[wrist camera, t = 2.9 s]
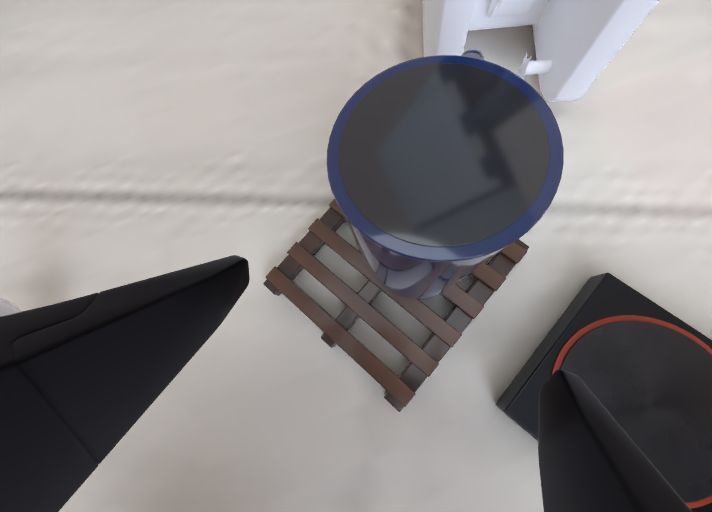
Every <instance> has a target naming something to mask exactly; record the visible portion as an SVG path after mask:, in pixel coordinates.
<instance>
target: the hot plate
mask: <svg viewBox="0 0 712 512" xmlns="http://www.w3.org/2000/svg"><path fill="white" fill-rule="evenodd" d="M558 369H562V370H565V371H568V372H570V373H573V374H576V375H577V376H579V377H580V379H581V380H582V381H583V382H584V383H585V384H586V386H587V387H588V388H589V389H590V390H591V392H592V393H593V394H594V395H595V396H596V397H597V399H598V400H599V401H600V402H601V403H602V405H603V406H604V407H605V408H606V409H607V411H608V412H609V413H610V414H611V415H612V417H613V418H614V419H615V420H616V421H617V422H618V424H619V425H620V426H621V427H622V428H623V430H624V431H625V432H626V433H627V434H628V436H629V437H630V438H631V439H632V440H633V441H634V443H635V444H636V445H637V446H638V447H639V449H640V450H641V451H642V452H643V453H644V455H645V456H646V457H647V458H648V459H649V460H650V462H651V463H652V464H653V465H654V466H655V468H656V469H657V470H658V471H659V472H660V474H661V475H662V476H663V477H664V478H665V479H666V481H667V482H668V483H669V484H670V485H671V487H672V488H673V489H674V490H675V491H676V493H677V494H678V495H679V496H680V497H681V498H682V500H683V501H684V502H685V503H686V504H687V506H688V507H689V508H690V509H691V510H692V512H712V340H711V339H709V338H708V337H706V336H705V335H703V334H702V333H700V332H698V331H697V330H695V329H694V328H692V327H691V326H689V325H688V324H686V323H685V322H683V321H682V320H680V319H679V318H677V317H675V316H674V315H672V314H671V313H669V312H668V311H666V310H665V309H663V308H662V307H660V306H659V305H657V304H656V303H654V302H652V301H651V300H649V299H648V298H646V297H645V296H643V295H642V294H640V293H639V292H637V291H636V290H634V289H633V288H631V287H629V286H628V285H626V284H625V283H623V282H622V281H620V280H619V279H617V278H616V277H614V276H613V275H611V274H610V273H605V274H601V275H597V276H593V277H591V278H590V279H589V281H588V282H587V283H586V284H585V286H584V287H583V288H582V290H581V291H580V292H579V294H578V295H577V296H576V298H575V299H574V300H573V302H572V303H571V304H570V306H569V307H568V308H567V310H566V311H565V312H564V314H563V315H562V316H561V318H560V319H559V320H558V322H557V323H556V324H555V326H554V327H553V328H552V330H551V331H550V332H549V334H548V335H547V336H546V338H545V339H544V340H543V342H542V343H541V344H540V346H539V347H538V348H537V350H536V351H535V352H534V354H533V355H532V356H531V358H530V359H529V360H528V362H527V363H526V364H525V366H524V367H523V368H522V370H521V371H520V372H519V374H518V375H517V376H516V378H515V379H514V380H513V382H512V383H511V384H510V386H509V387H508V388H507V390H506V391H505V392H504V394H503V395H502V396H501V397H500V399H499V400H498V401H497V403H496V406H497V407H498V408H499V409H501V410H502V411H503V412H504V413H505V414H507V415H508V416H509V417H510V418H511V419H512V420H514V421H515V422H516V423H517V424H518V425H520V426H521V427H522V428H523V429H524V430H525V431H527V432H528V433H529V434H530V435H531V436H532V437H534V438H535V439H536V440H537V441H538V433H539V392H540V389H541V387H542V386H543V384H544V383H545V382H546V381H547V380H548V379H549V378H550V376H551V375H552V374H553V373H554V372H555V371H556V370H558Z"/></svg>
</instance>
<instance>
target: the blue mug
mask: <svg viewBox="0 0 712 512" xmlns="http://www.w3.org/2000/svg"><path fill="white" fill-rule="evenodd" d="M562 169H563V144H562V137H561V133H560V130H559V127H558V124H557V121H556V119H555V117H554V115H553V113H552V111H551V109H550V108H549V106H548V105H547V104H546V102H545V101H544V99H543V98H542V97H541V96H540V95H539V93H538V92H537V91H536V90H535V89H534V88H533V87H532V86H531V85H529V84H528V83H527V82H526V81H525V80H523V79H522V78H521V77H519V76H517V75H516V74H514V73H513V72H511V71H509V70H507V69H505V68H503V67H501V66H499V65H497V64H494V63H491V62H488V61H485V60H484V58H483V55H482V53H481V52H480V51H479V50H477V49H469V50H466V51H465V52H464V53H463V54H462V55H461V56H458V55H437V56H427V57H422V58H417V59H413V60H409V61H406V62H403V63H400V64H398V65H395V66H393V67H391V68H389V69H387V70H385V71H383V72H381V73H380V74H378V75H376V76H375V77H373V78H372V79H371V80H369V81H368V82H366V83H365V84H364V85H363V86H362V87H361V88H360V89H359V90H357V91H356V92H355V93H354V95H353V96H352V97H351V98H350V99H349V100H348V102H347V103H346V104H345V106H344V107H343V109H342V110H341V112H340V113H339V115H338V117H337V120H336V122H335V124H334V126H333V129H332V132H331V135H330V138H329V144H328V149H327V172H328V178H329V182H330V186H331V190H332V192H333V195H334V197H335V200H336V202H337V204H338V206H339V208H340V210H341V212H342V214H343V216H344V219H345V221H346V223H347V225H348V227H349V229H350V231H351V233H352V235H353V237H354V239H355V242H356V244H357V246H358V248H359V250H360V252H361V254H362V256H363V258H364V260H365V262H366V264H367V267H368V269H369V270H370V272H371V274H372V275H373V277H374V278H375V279H376V281H378V282H379V283H380V284H381V285H382V286H383V287H384V288H386V289H387V290H389V291H390V292H392V293H394V294H397V295H399V296H403V297H406V298H415V299H421V298H429V297H433V296H436V295H438V294H441V293H443V292H445V291H446V290H448V289H450V288H451V287H452V286H454V285H455V284H456V283H458V282H459V281H461V280H462V279H463V278H465V277H466V276H468V275H469V274H470V273H472V272H473V271H475V270H476V269H477V268H479V267H480V266H481V265H483V264H484V263H486V262H487V261H488V260H490V259H491V258H493V257H494V256H495V255H497V254H498V253H499V252H501V251H502V250H504V249H505V248H506V247H508V246H509V245H511V244H512V243H513V242H515V241H516V240H517V239H519V238H520V237H521V236H523V235H524V234H525V233H526V232H528V231H529V230H530V229H531V228H532V227H533V226H534V225H535V224H536V223H537V222H538V221H539V220H540V219H541V217H542V216H543V214H544V213H545V212H546V210H547V209H548V208H549V206H550V204H551V202H552V200H553V198H554V196H555V194H556V192H557V189H558V186H559V183H560V180H561V175H562Z"/></svg>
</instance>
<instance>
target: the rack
mask: <svg viewBox="0 0 712 512" xmlns="http://www.w3.org/2000/svg"><path fill="white" fill-rule="evenodd" d="M329 206H330V208H329V209H328V211H327V212H326V213H325V214H324V215H323V216H322V217H321V219H320V220H319V219H318V218H317V219H316V220H315V222H314V223H313V224H312V225H311V226H310V227H309V228H308V229H309V230H310V231H309V232H308V233H307V234H306V236H305V237H304V238H303V239H302V240H301V241H300V242H299V243H297V242H296V243H295V244H294V245H293V246H292V248H291V249H290V250H289V251H288V252H287V253H288V254H289V255H288V256H287V257H286V258H285V259H284V261H283V262H282V263H281V264H280V265H279V266H278V267H276V266H275V267H274V268H273V269H272V270H271V271H270V273H269V274H268V275H267V276H266V278H267V280H266V281H265V282H264V283H263V284H264V285H265V286H266V287H267V288H268V289H269V290H270V291H271V292H272V293H273V294H275V295H280V294H281V293H283V294H284V295H285V296H286V297H287V298H288V299H289V300H290V301H291V302H292V303H294V304H295V305H296V306H297V307H298V308H299V309H300V310H301V311H302V312H303V313H304V314H305V315H306V316H308V317H309V318H310V319H311V320H312V321H313V322H314V323H315V324H316V325H317V326H318V327H319V328H320V329H321V330H323V331H324V332H325V333H324V334H323V335H322V336H321V339H322V340H323V341H325V342H326V343H327V344H328V345H329V346H330V347H331V348H332V347H335V345H336V344H338V345H339V346H340V347H341V348H342V349H343V350H344V351H345V352H346V353H347V354H348V355H349V356H351V357H352V358H353V359H354V360H355V361H356V362H357V363H358V364H359V365H360V366H361V367H362V368H363V369H365V370H366V371H367V372H368V373H369V374H370V375H371V376H372V377H373V378H374V379H375V380H376V381H377V382H378V383H380V384H381V385H382V386H383V387H384V388H385V389H386V390H387V392H386V393H385V396H384V398H385V399H386V400H387V401H388V402H389V403H390V404H391V405H392V406H394V407H395V408H396V409H397V410H398V411H399V412H400V411H401V409H402V408H403V407H405V406H406V405H407V404H408V403H409V401H410V400H411V399H412V398H413V396H414V395H415V392H416V390H417V389H418V388H419V387H420V385H421V384H422V383H423V381H424V380H425V379H426V378H427V376H428V377H429V376H430V375H431V373H432V372H433V371H434V370H435V368H436V367H437V366H438V364H439V363H438V362H439V361H440V360H441V359H442V357H443V356H444V355H445V354H446V352H447V351H448V350H449V348H450V347H453V345H454V344H455V343H456V342H457V340H458V339H459V338H460V336H461V335H462V334H461V333H462V332H463V331H464V329H465V328H466V327H467V326H468V324H469V323H470V322H471V320H472V319H474V318H475V317H476V316H477V315H478V314H479V312H480V311H481V310H482V308H483V307H484V306H483V305H484V304H485V303H486V301H487V300H488V299H489V298H490V296H491V295H492V294H493V293H494V291H496V290H497V289H498V288H499V287H500V286H501V284H502V283H503V282H504V280H505V279H506V278H505V277H506V276H507V275H508V273H509V272H510V271H511V270H512V268H513V267H514V266H515V265H516V264H517V263H519V261H520V260H521V259H522V258H523V256H524V255H525V254H526V252H527V249H528V248H529V246H527V245H526V244H524V243H523V242H522V241H520V240H519V239H517V240H516V241H515V242H513V243H512V244H511V245H509V246H508V247H506V248H505V249H504V250H502V251H501V252H499V253H498V254H497V255H495V257H494V258H493V259H492V260H491V262H490V263H489V264H488V265H487V264H485V263H484V264H483V265H481V266H480V267H479V268H477V269H476V270H475V271H473V272H472V273H470V274H472V275H473V276H474V277H476V278H477V279H476V280H475V282H474V283H473V284H472V285H471V287H470V288H469V289H468V290H467V292H465V291H464V290H462V289H461V288H460V287H458V286H457V285H456V284H455V285H454V286H452V287H451V288H450V289H448V290H446V291H445V292H443V293H441V295H443V296H444V297H445V298H447V299H448V300H449V301H450V302H452V303H453V304H454V305H456V306H455V307H454V308H453V309H452V311H451V312H450V313H449V314H448V316H447V317H446V318H445V319H444V320H443V319H442V318H441V317H440V316H438V315H437V314H436V313H435V312H433V311H432V310H431V309H430V308H428V307H427V306H426V305H425V304H423V303H422V302H421V301H420V300H418V299H415V298H406V297H403V296H399V295H397V294H394V293H392V292H390V291H389V290H387V289H386V288H384V287H383V286H382V285H381V284H380V283H379V282H378V281H376V279H375V278H374V277H373V275H372V274H371V272H370V270H369V269H368V267H367V264H366V262H365V260H364V258H363V256H362V254H361V253H360V252H359V251H358V250H356V249H355V248H354V247H353V246H352V245H350V244H349V243H348V242H347V241H345V240H344V239H343V238H342V237H340V236H339V235H338V234H337V233H335V231H336V229H337V228H338V227H339V226H340V225H341V224H342V223H343V221H344V220H345V219H344V216H343V214H342V212H341V210H340V208H339V206H338V204H337V202H336V200H335V199H334V200H333V201H332V202H331V203H330V205H329ZM324 243H325V244H327V245H328V246H329V247H330V248H331V249H333V250H334V251H335V252H336V253H337V254H339V255H340V256H341V257H342V258H343V259H345V260H346V261H347V262H348V263H349V264H351V265H352V266H353V267H354V268H356V269H357V270H358V271H359V272H360V273H362V274H363V275H364V276H365V277H366V278H368V279H369V281H368V282H367V283H366V284H365V285H364V286H363V288H362V289H361V290H360V291H359V292H358V294H357V293H356V292H355V291H354V290H352V289H351V288H350V287H349V286H348V285H346V284H345V283H344V282H343V281H342V280H341V279H339V278H338V277H337V276H336V275H335V274H334V273H332V272H331V271H330V270H329V269H328V268H327V267H325V266H324V265H323V264H322V263H321V262H320V261H318V260H317V259H316V258H315V257H314V255H315V253H316V252H317V251H318V250H319V249H320V248H321V247H322V245H323V244H324ZM303 267H304V268H305V269H306V270H307V271H308V272H309V273H310V274H312V275H313V276H314V277H315V278H316V279H317V280H318V281H320V282H321V283H322V284H323V285H324V286H325V287H326V288H328V289H329V290H330V291H331V292H332V293H333V294H334V295H336V296H337V297H338V298H339V299H340V300H341V301H342V302H344V303H345V304H346V305H347V307H346V308H345V309H344V310H343V311H342V313H341V314H340V315H339V316H338V317H337V319H336V320H335V319H334V318H333V317H332V316H331V315H329V314H328V313H327V312H326V311H325V310H324V309H323V308H322V307H321V306H320V305H318V304H317V303H316V302H315V301H314V300H313V299H312V298H311V297H310V296H308V295H307V294H306V293H305V292H304V291H303V290H302V289H301V288H300V287H299V286H297V285H296V284H295V283H294V282H293V281H292V280H293V279H294V278H295V276H296V275H297V274H298V273H299V272H300V271H301V270H302V268H303ZM381 290H382V291H383V292H385V293H386V294H387V295H388V296H389V297H391V298H392V299H393V300H394V301H395V302H397V303H398V304H399V305H400V306H401V307H403V308H404V309H405V310H406V311H407V312H409V313H410V314H411V315H412V316H413V317H415V318H416V319H417V320H418V321H420V322H421V323H422V324H423V325H424V326H426V327H427V328H428V329H429V330H430V331H432V332H433V334H432V336H431V337H430V338H429V339H428V341H427V342H426V343H425V344H424V346H423V347H422V348H420V347H419V346H418V345H417V344H416V343H414V342H413V341H412V340H411V339H410V338H409V337H407V336H406V335H405V334H404V333H403V332H401V331H400V330H399V329H398V328H397V327H396V326H394V325H393V324H392V323H391V322H390V321H389V320H387V319H386V318H385V317H384V316H383V315H382V314H380V313H379V312H378V311H377V310H376V309H375V308H373V307H372V306H371V305H370V303H371V302H372V301H373V300H374V299H375V297H376V296H377V295H378V294H379V293H380V291H381ZM359 317H361V318H362V319H363V320H364V321H365V322H366V323H367V324H369V325H370V326H371V327H372V328H373V329H374V330H375V331H377V332H378V333H379V334H380V335H381V336H382V337H383V338H385V339H386V340H387V341H388V342H389V343H390V344H391V345H393V346H394V347H395V348H396V349H397V350H398V351H399V352H401V353H402V354H403V355H404V356H405V357H406V358H407V359H409V360H410V361H411V362H410V363H409V364H408V366H407V367H406V368H405V369H404V371H403V372H402V373H401V374H400V376H399V377H398V376H397V375H396V374H395V373H394V372H392V371H391V370H390V369H389V368H388V367H387V366H386V365H385V364H384V363H383V362H381V361H380V360H379V359H378V358H377V357H376V356H375V355H374V354H373V353H371V352H370V351H369V350H368V349H367V348H366V347H365V346H364V345H363V344H362V343H360V342H359V341H358V340H357V339H356V338H355V337H354V336H353V335H352V334H350V333H349V332H348V330H349V329H350V327H351V326H352V325H353V324H354V323H355V321H356V320H357V319H358V318H359Z"/></svg>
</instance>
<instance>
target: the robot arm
mask: <svg viewBox="0 0 712 512" xmlns="http://www.w3.org/2000/svg"><path fill="white" fill-rule="evenodd" d="M248 284H249V267H248V261H247V260H246V259H245V258H242V257H239V256H236V255H233V256H229V257H226V258H222V259H218V260H215V261H211V262H207V263H204V264H200V265H197V266H193V267H189V268H186V269H182V270H178V271H175V272H171V273H167V274H164V275H160V276H157V277H153V278H149V279H146V280H142V281H138V282H135V283H131V284H127V285H124V286H120V287H117V288H113V289H109V290H106V291H102V292H100V293H94V294H91V295H87V296H84V297H80V298H76V299H73V300H69V301H65V302H61V303H57V304H53V305H49V306H45V307H41V308H36V309H32V310H28V311H23V312H19V313H15V314H10V315H6V316H1V317H0V512H58V511H59V510H60V509H61V508H62V507H63V506H64V504H65V503H66V502H67V501H68V500H69V499H70V498H71V496H72V495H73V494H74V493H75V492H76V491H77V490H78V488H79V487H80V486H81V485H82V484H83V483H84V481H85V480H86V479H87V478H88V477H89V476H90V475H91V473H92V472H93V471H94V470H95V469H96V468H97V467H98V464H99V463H101V462H102V460H103V459H104V458H105V457H106V456H107V455H108V454H109V452H110V451H111V450H112V449H113V448H114V447H115V446H116V444H117V443H118V442H119V441H120V440H121V439H122V437H123V436H124V435H125V434H126V433H127V432H128V431H129V429H130V428H131V427H132V426H133V425H134V424H135V423H136V421H137V420H138V419H139V418H140V417H141V416H142V414H143V413H144V412H145V411H146V410H147V409H148V408H149V406H150V405H151V404H152V403H153V402H154V401H155V399H156V398H157V397H158V396H159V395H160V394H161V393H162V391H163V390H164V389H165V388H166V387H167V386H168V385H169V383H170V382H171V381H172V380H173V379H174V378H175V376H176V375H177V374H178V373H179V372H180V371H181V370H182V368H183V367H184V366H185V365H186V364H187V363H188V362H189V360H190V359H191V358H192V357H193V356H194V355H195V353H196V352H197V351H198V350H199V349H200V348H201V347H202V345H203V344H204V343H205V342H206V341H207V340H208V339H209V337H210V336H211V335H212V334H213V333H214V332H215V330H216V329H217V328H218V327H219V326H220V324H221V323H222V322H223V320H224V319H225V318H226V316H227V315H228V313H229V312H230V310H231V309H232V308H233V306H234V305H235V303H236V302H237V301H238V299H239V298H240V296H241V295H242V293H243V292H244V291H245V289H246V288H247V286H248ZM538 454H539V467H540V477H541V487H542V497H543V506H544V512H692V510H691V509H690V508H689V507H688V506H687V504H686V503H685V502H684V501H683V500H682V498H681V497H680V496H679V495H678V494H677V493H676V491H675V490H674V489H673V488H672V487H671V485H670V484H669V483H668V482H667V481H666V479H665V478H664V477H663V476H662V475H661V474H660V472H659V471H658V470H657V469H656V468H655V466H654V465H653V464H652V463H651V462H650V460H649V459H648V458H647V457H646V456H645V455H644V453H643V452H642V451H641V450H640V449H639V447H638V446H637V445H636V444H635V443H634V441H633V440H632V439H631V438H630V437H629V436H628V434H627V433H626V432H625V431H624V430H623V428H622V427H621V426H620V425H619V424H618V422H617V421H616V420H615V419H614V418H613V417H612V415H611V414H610V413H609V412H608V411H607V409H606V408H605V407H604V406H603V405H602V403H601V402H600V401H599V400H598V399H597V397H596V396H595V395H594V394H593V393H592V392H591V390H590V389H589V388H588V387H587V386H586V384H585V383H584V382H583V381H582V380H581V379H580V377H579V376H577V375H576V374H573V373H570V372H568V371H565V370H562V369H558V370H556V371H555V372H554V373H553V374H552V375H551V376H550V378H549V379H548V380H547V381H546V382H545V383H544V384H543V386H542V387H541V389H540V392H539V433H538Z"/></svg>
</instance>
